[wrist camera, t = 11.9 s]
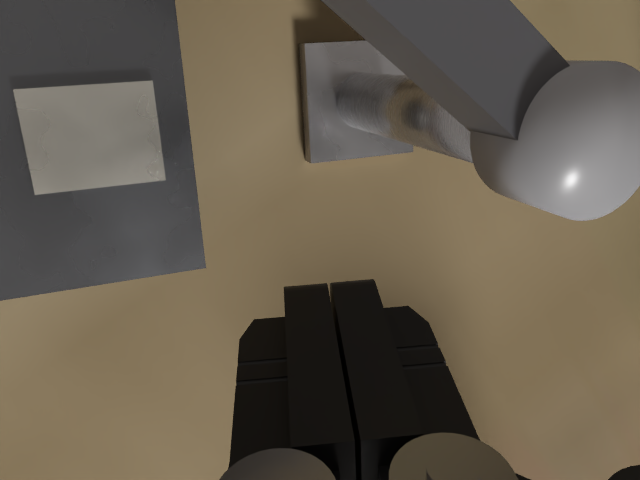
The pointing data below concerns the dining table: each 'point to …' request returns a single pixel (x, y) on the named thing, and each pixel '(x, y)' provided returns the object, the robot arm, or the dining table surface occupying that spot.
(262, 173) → the dining table surface
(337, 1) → the bar
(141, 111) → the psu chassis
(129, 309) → the dining table surface
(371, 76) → the hinge post
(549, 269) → the dining table surface
